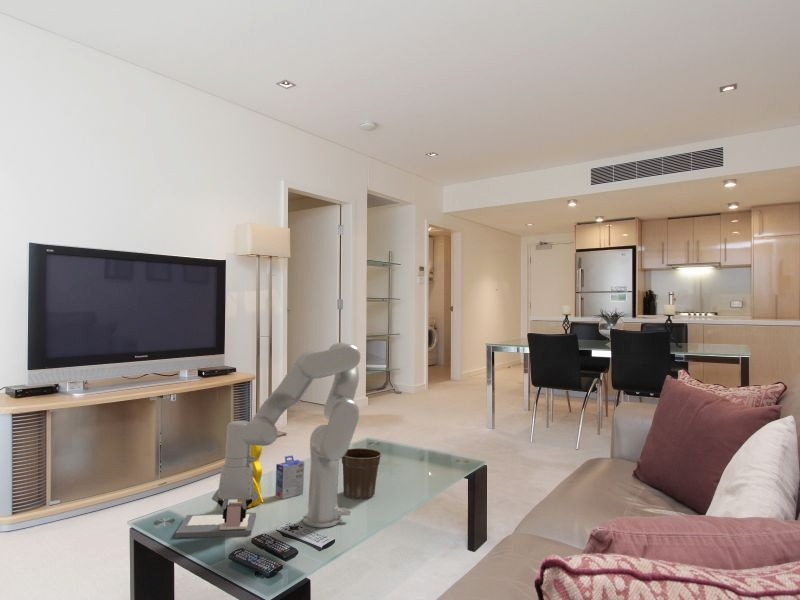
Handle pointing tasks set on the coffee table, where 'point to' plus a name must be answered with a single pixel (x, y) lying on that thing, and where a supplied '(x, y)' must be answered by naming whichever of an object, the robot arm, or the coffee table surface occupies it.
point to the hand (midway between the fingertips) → (234, 520)
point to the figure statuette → (256, 474)
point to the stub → (233, 517)
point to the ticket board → (211, 526)
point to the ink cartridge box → (289, 478)
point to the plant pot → (360, 472)
